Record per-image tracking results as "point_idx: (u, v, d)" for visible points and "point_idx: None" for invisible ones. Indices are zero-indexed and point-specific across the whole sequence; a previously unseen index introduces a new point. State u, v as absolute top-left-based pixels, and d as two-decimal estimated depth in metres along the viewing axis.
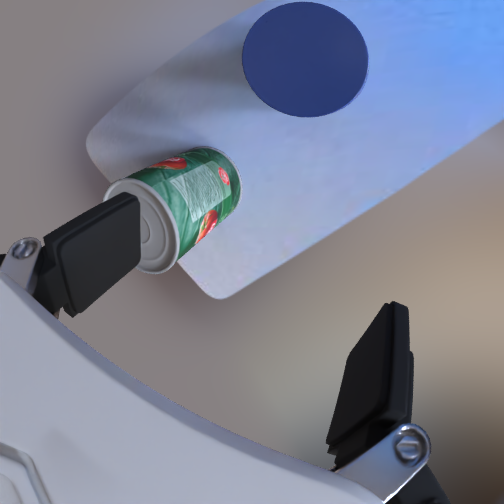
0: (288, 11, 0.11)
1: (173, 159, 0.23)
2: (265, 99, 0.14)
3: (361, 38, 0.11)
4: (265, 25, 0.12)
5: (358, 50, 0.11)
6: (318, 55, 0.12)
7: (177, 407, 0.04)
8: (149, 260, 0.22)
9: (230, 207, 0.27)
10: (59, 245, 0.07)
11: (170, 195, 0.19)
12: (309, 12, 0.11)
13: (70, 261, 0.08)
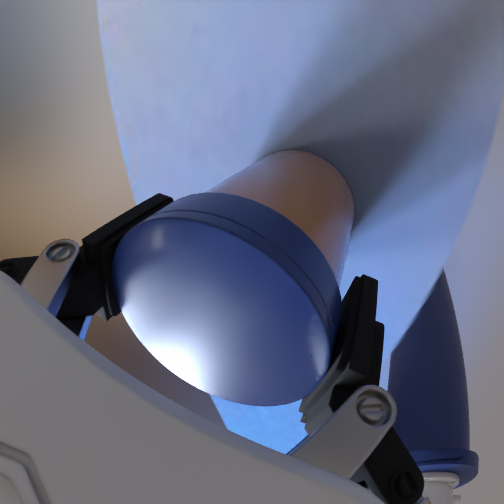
0: (297, 383, 0.07)
1: None
2: (155, 226, 0.06)
3: (200, 388, 0.10)
4: (305, 349, 0.06)
5: (186, 375, 0.09)
6: (196, 347, 0.08)
7: (176, 406, 0.04)
8: None
9: None
10: (100, 247, 0.07)
11: None
12: (271, 393, 0.08)
13: (110, 264, 0.08)
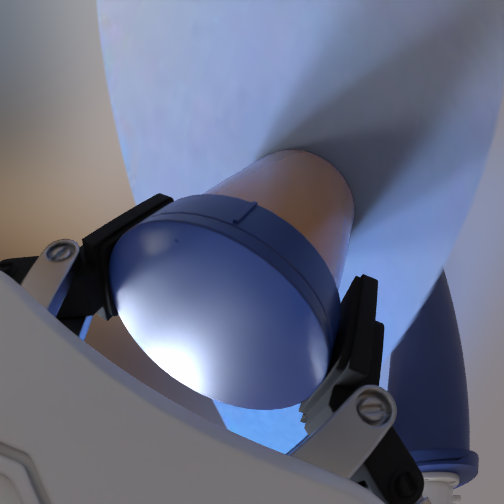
0: (232, 263, 0.06)
1: None
2: (126, 324, 0.09)
3: (314, 388, 0.07)
4: (170, 245, 0.06)
5: (293, 392, 0.07)
6: (227, 356, 0.07)
7: (176, 406, 0.04)
8: None
9: None
10: (100, 247, 0.07)
11: None
12: (271, 301, 0.06)
13: None
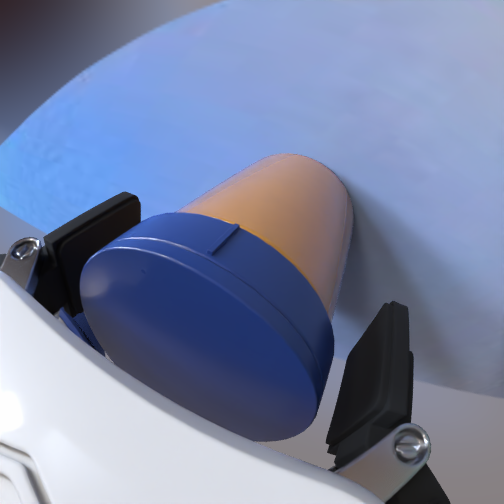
0: (205, 302, 0.05)
1: None
2: (102, 346, 0.08)
3: (301, 429, 0.06)
4: (137, 276, 0.05)
5: (278, 430, 0.06)
6: (206, 390, 0.07)
7: (176, 406, 0.04)
8: None
9: None
10: (59, 245, 0.07)
11: None
12: (252, 346, 0.05)
13: (70, 261, 0.08)
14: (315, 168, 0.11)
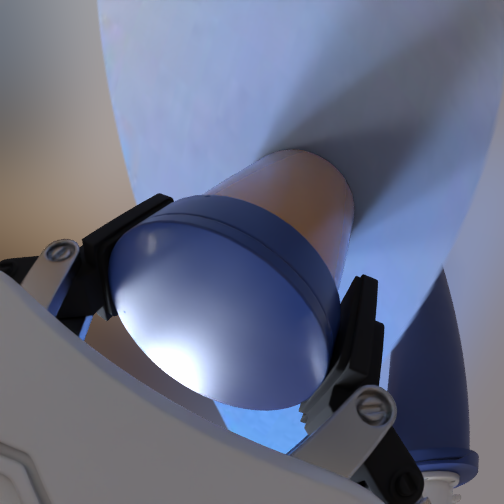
0: (120, 281, 0.08)
1: None
2: (231, 404, 0.09)
3: (222, 239, 0.06)
4: (129, 318, 0.09)
5: (245, 268, 0.06)
6: (212, 324, 0.07)
7: (177, 407, 0.04)
8: None
9: None
10: (100, 247, 0.07)
11: None
12: (131, 262, 0.07)
13: None
14: None
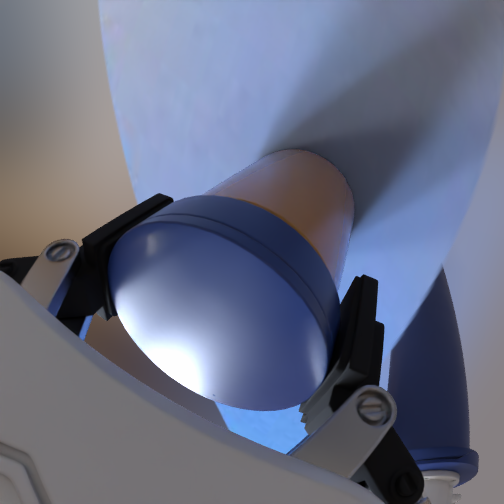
0: (179, 376, 0.09)
1: None
2: (320, 359, 0.06)
3: (109, 281, 0.08)
4: (218, 395, 0.09)
5: (118, 274, 0.08)
6: (176, 319, 0.07)
7: (176, 406, 0.04)
8: None
9: None
10: (100, 247, 0.07)
11: None
12: (156, 355, 0.09)
13: None
14: None
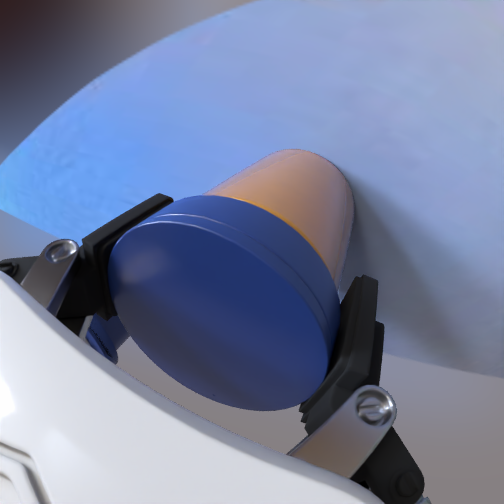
0: (179, 376, 0.09)
1: None
2: (320, 359, 0.06)
3: (109, 281, 0.08)
4: (218, 395, 0.09)
5: (118, 274, 0.08)
6: (176, 319, 0.07)
7: (176, 406, 0.04)
8: None
9: None
10: (100, 247, 0.07)
11: None
12: (156, 355, 0.09)
13: None
14: (315, 160, 0.12)
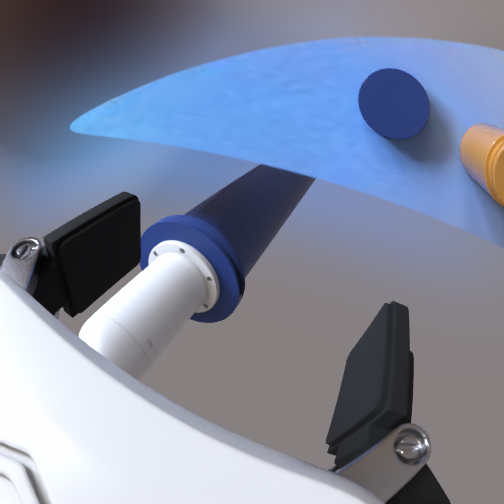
0: (379, 127, 0.23)
1: None
2: (427, 104, 0.20)
3: (361, 88, 0.22)
4: (395, 132, 0.23)
5: (367, 84, 0.21)
6: (387, 97, 0.21)
7: (176, 406, 0.04)
8: None
9: None
10: (59, 245, 0.07)
11: None
12: (371, 118, 0.23)
13: (70, 261, 0.08)
14: None
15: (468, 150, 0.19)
